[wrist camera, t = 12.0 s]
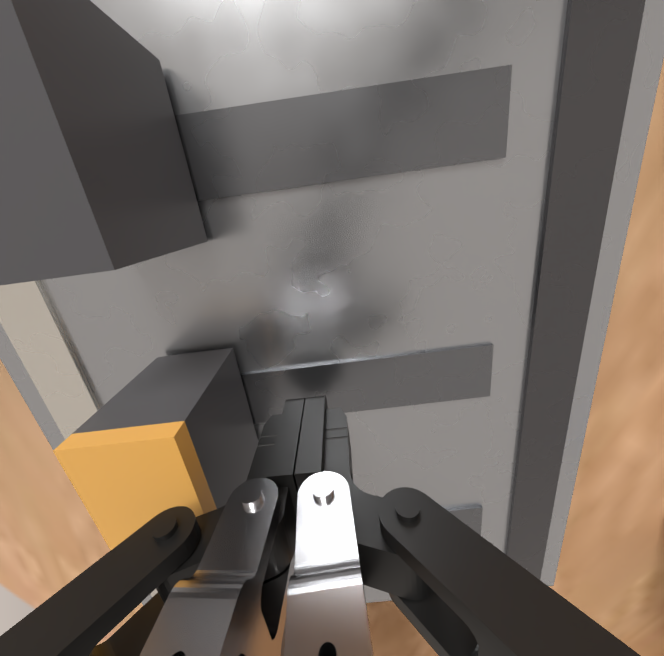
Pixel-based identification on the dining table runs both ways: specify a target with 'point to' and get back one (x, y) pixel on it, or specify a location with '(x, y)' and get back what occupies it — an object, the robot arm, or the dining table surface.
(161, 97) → the handle
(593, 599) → the dining table surface
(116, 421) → the handle
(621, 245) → the breaker board
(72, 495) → the dining table surface
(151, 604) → the robot arm
